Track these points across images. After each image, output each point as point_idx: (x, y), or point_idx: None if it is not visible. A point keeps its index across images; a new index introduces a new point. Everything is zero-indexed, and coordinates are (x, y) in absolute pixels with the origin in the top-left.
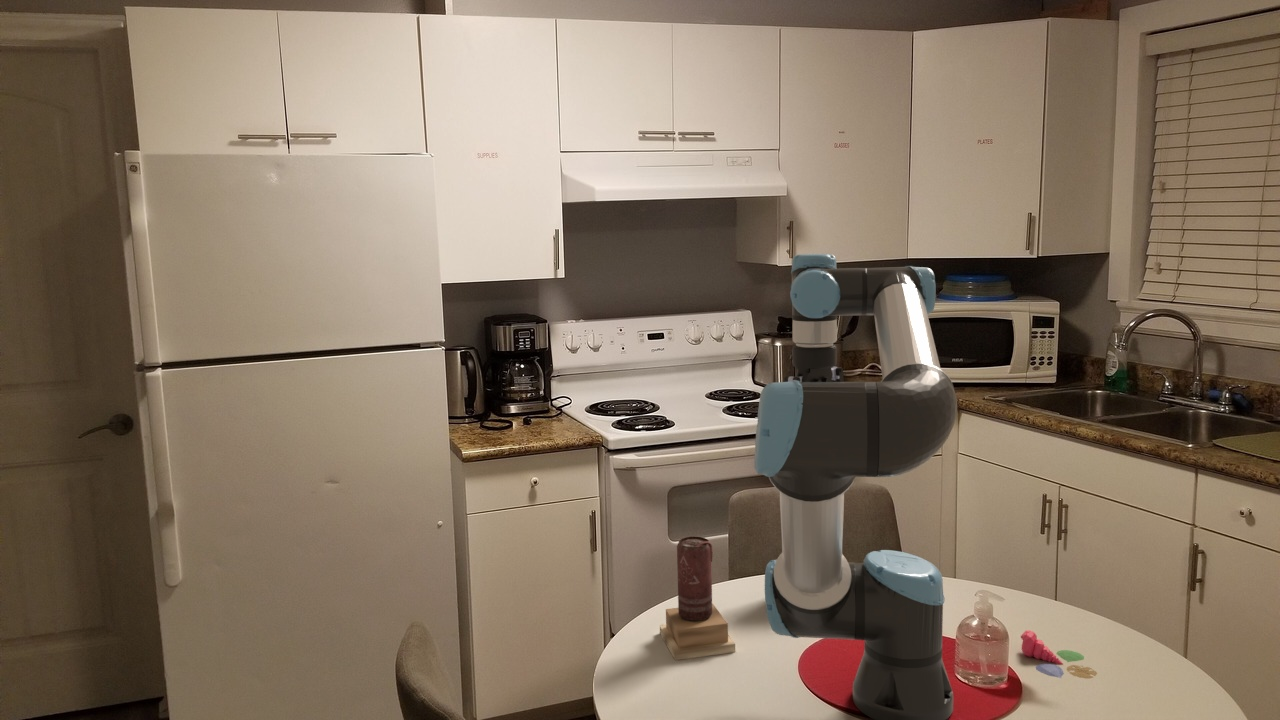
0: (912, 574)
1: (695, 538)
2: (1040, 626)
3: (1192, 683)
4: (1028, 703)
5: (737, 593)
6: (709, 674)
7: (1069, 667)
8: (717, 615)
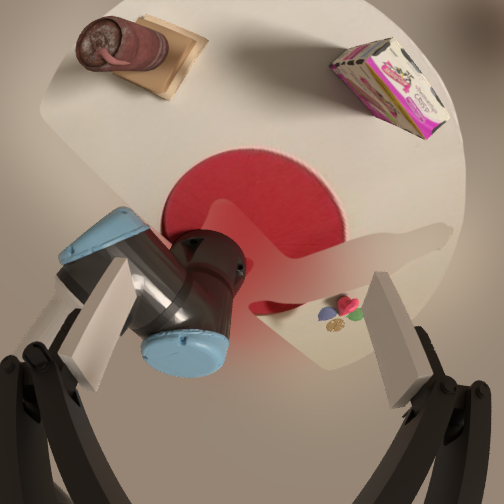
0: (164, 372)
1: (119, 23)
2: (398, 287)
3: (350, 359)
4: (269, 318)
5: (308, 4)
6: (120, 117)
7: (337, 320)
8: (166, 68)
